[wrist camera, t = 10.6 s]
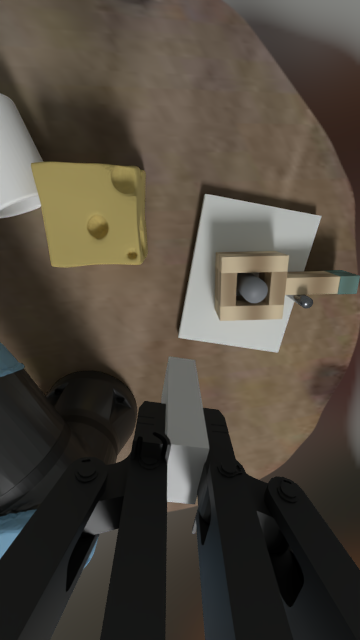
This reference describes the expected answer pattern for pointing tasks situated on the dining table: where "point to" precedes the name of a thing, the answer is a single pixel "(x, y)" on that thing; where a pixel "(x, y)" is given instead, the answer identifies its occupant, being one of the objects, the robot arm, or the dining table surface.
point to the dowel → (302, 300)
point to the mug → (16, 163)
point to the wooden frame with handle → (271, 284)
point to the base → (241, 238)
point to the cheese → (92, 212)
